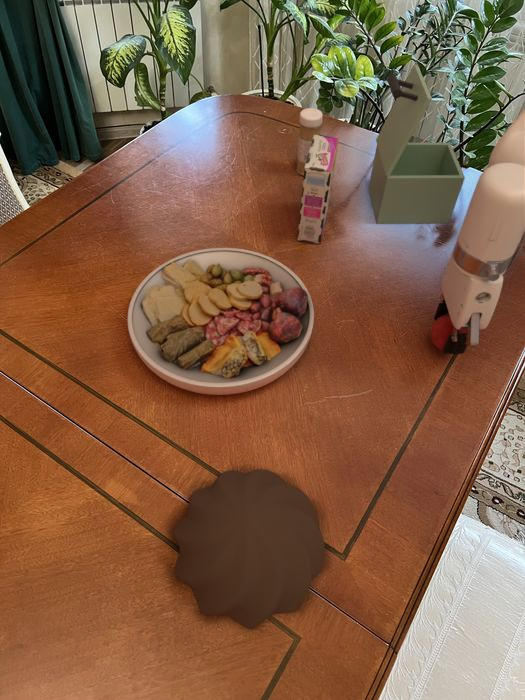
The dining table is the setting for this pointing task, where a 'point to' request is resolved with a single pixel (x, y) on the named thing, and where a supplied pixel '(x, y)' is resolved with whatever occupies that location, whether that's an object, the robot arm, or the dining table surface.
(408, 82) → the lid
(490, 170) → the robot arm
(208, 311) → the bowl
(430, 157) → the compartment
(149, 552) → the dining table surface
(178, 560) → the decorative dome
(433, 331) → the onion
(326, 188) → the candy bar box
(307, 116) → the sprinkles bottle
